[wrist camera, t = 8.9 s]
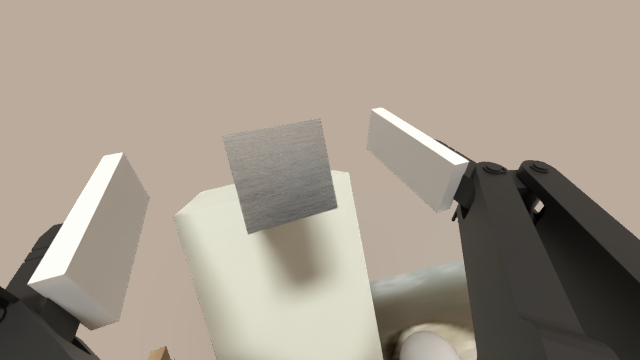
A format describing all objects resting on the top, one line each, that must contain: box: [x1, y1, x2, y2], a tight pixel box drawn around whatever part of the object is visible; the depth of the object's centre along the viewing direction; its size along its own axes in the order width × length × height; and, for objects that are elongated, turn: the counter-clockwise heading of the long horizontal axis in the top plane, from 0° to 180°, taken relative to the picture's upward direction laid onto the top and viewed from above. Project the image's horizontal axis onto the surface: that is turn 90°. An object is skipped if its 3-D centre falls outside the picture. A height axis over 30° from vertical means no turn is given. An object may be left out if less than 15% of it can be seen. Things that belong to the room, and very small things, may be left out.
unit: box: [173, 170, 383, 360], centre depth 25 cm, size 12×12×30 cm
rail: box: [223, 119, 338, 234], centre depth 20 cm, size 4×24×4 cm, turn 18°
